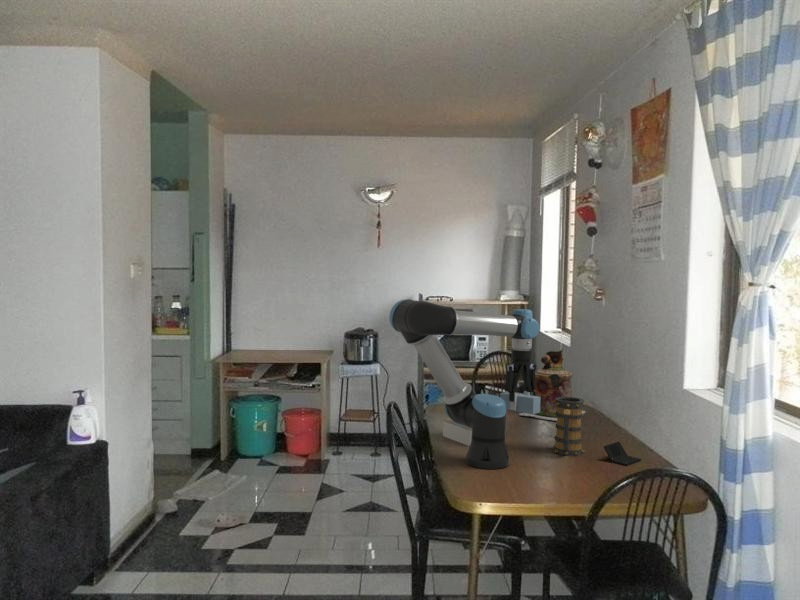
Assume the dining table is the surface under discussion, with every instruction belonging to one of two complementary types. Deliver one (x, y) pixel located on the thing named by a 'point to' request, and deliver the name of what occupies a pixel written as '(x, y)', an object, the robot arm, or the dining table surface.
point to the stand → (457, 432)
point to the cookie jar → (551, 385)
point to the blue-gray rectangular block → (523, 403)
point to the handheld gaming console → (619, 455)
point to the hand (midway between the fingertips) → (519, 409)
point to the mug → (568, 426)
